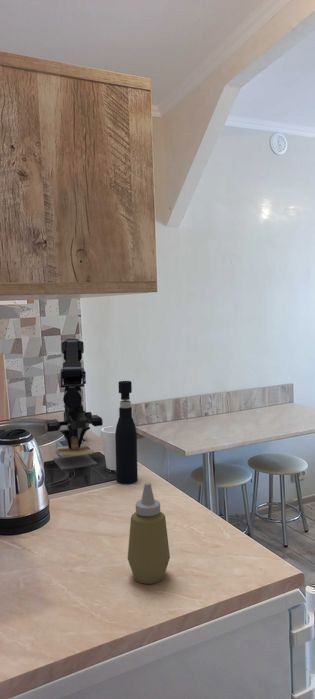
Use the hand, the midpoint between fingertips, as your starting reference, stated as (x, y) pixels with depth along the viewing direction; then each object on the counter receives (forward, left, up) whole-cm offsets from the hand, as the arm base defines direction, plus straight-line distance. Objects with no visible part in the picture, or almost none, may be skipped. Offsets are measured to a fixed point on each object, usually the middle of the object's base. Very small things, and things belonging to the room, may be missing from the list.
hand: (74, 448), depth 162 cm
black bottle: (+25, +9, -5) cm, 27 cm away
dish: (-11, +1, -5) cm, 12 cm away
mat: (0, 0, -5) cm, 5 cm away
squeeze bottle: (+76, -6, -5) cm, 76 cm away
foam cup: (+13, +10, -5) cm, 17 cm away
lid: (0, 0, -1) cm, 1 cm away
